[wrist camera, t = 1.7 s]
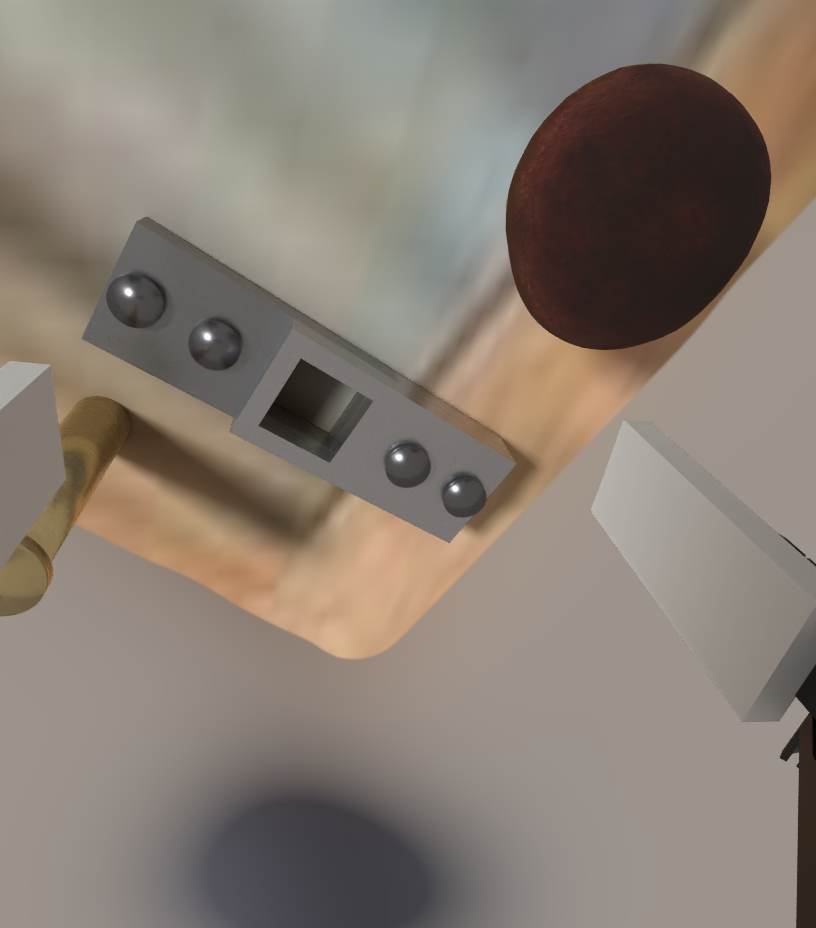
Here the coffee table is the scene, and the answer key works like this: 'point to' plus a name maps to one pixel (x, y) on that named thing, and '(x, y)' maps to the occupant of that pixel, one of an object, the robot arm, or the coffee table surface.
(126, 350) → the riveted socket bracket
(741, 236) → the decorative mushroom
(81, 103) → the coffee table surface
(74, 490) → the brass pin
